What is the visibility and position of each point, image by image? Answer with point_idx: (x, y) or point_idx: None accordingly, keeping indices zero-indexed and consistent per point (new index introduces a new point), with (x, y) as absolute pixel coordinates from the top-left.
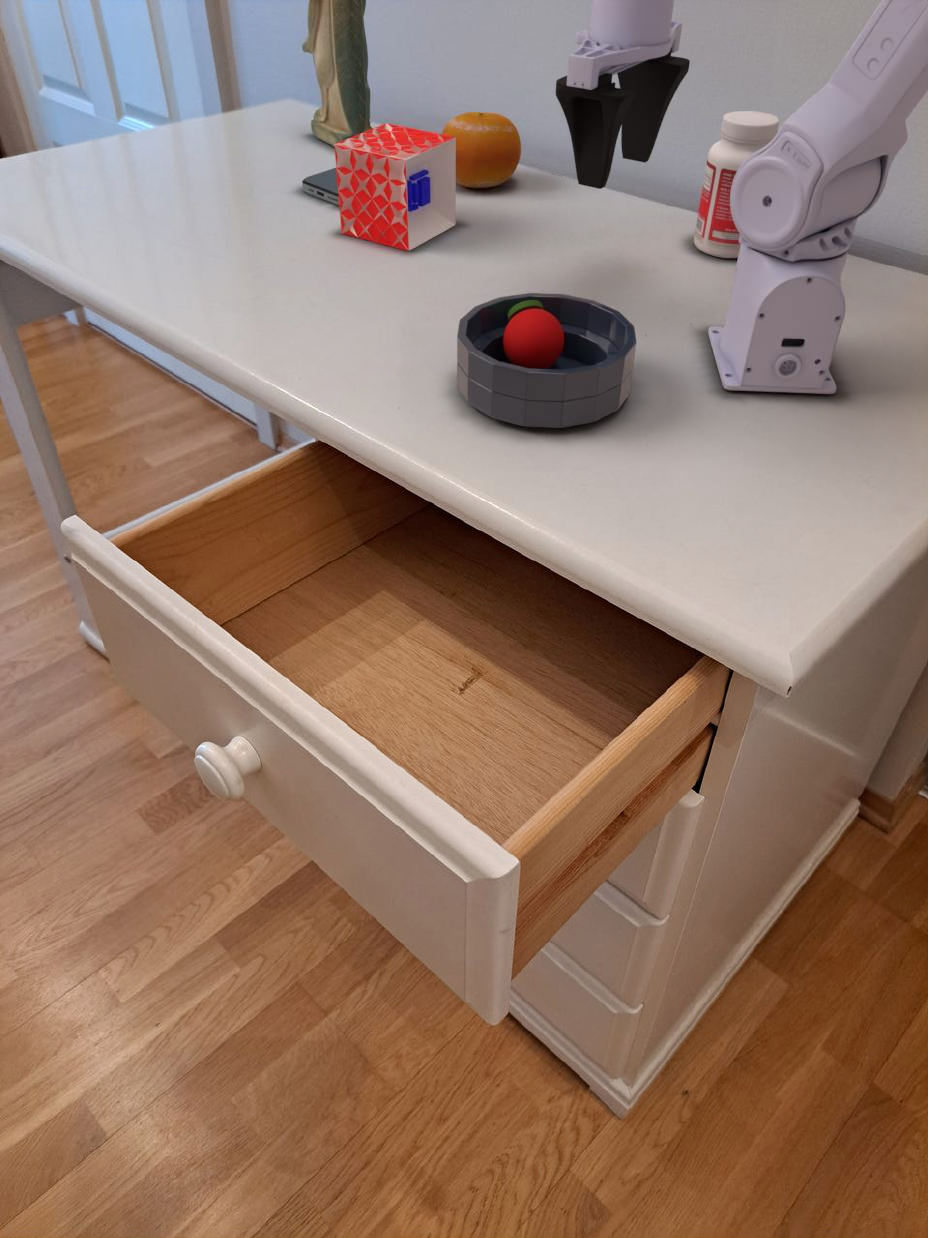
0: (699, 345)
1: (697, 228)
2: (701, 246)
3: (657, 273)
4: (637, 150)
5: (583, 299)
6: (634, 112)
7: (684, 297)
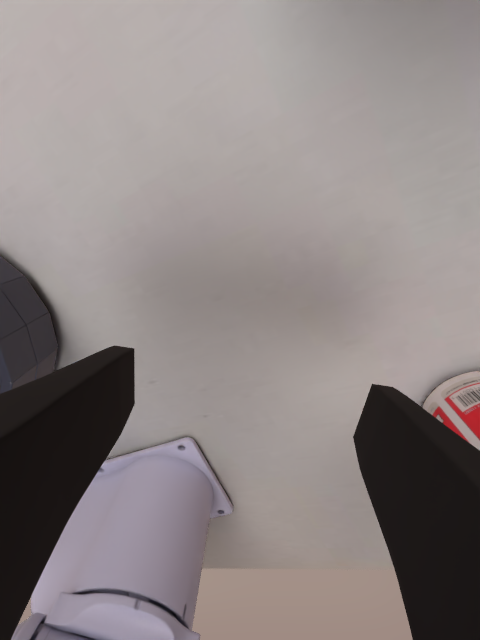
0: (162, 431)
1: (468, 391)
2: (438, 390)
3: (338, 350)
4: (368, 435)
5: (3, 370)
6: (430, 506)
7: (274, 395)
